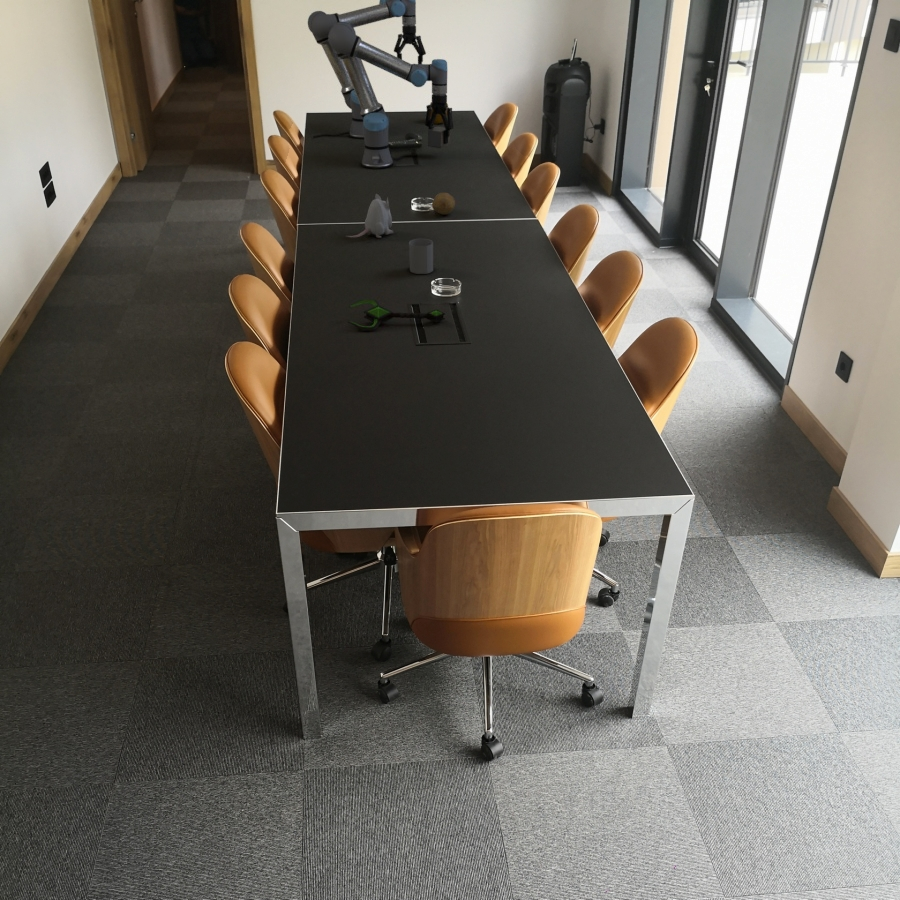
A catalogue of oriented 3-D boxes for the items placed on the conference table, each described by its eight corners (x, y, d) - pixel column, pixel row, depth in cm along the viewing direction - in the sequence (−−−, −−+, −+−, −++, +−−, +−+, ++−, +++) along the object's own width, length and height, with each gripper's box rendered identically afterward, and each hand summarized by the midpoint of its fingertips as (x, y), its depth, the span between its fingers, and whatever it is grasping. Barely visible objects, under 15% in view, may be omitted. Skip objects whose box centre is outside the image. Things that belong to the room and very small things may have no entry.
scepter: (445, 294, 271) (348, 292, 269) (446, 325, 264) (347, 323, 262) (443, 307, 276) (349, 305, 274) (445, 338, 269) (347, 336, 267)
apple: (448, 125, 501) (448, 101, 494) (429, 125, 501) (429, 101, 494) (448, 121, 510) (448, 98, 504) (430, 121, 511) (429, 97, 504)
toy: (399, 233, 341) (398, 195, 333) (354, 248, 327) (351, 208, 319) (383, 228, 346) (382, 190, 338) (338, 242, 332) (335, 203, 324)
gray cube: (437, 143, 442) (437, 126, 437) (449, 145, 438) (450, 128, 434) (427, 146, 435) (427, 129, 431) (440, 148, 432) (441, 131, 428)
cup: (409, 265, 311) (408, 238, 306) (432, 265, 312) (431, 238, 307) (410, 274, 304) (409, 246, 299) (433, 273, 305) (433, 246, 299)
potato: (453, 208, 369) (453, 189, 365) (456, 218, 357) (456, 199, 353) (431, 208, 368) (430, 189, 364) (432, 218, 356) (432, 199, 352)
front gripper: (417, 92, 425) (417, 140, 438) (453, 97, 416) (452, 146, 429) (425, 90, 431) (425, 138, 443) (461, 95, 422) (460, 143, 434)
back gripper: (386, 24, 473) (388, 66, 485) (423, 27, 461) (424, 70, 473) (394, 22, 478) (396, 64, 490) (431, 26, 467) (432, 68, 478)
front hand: (438, 142), depth 436 cm, fingers closed on gray cube, 8 cm apart
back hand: (410, 67), depth 481 cm, fingers open, 13 cm apart
